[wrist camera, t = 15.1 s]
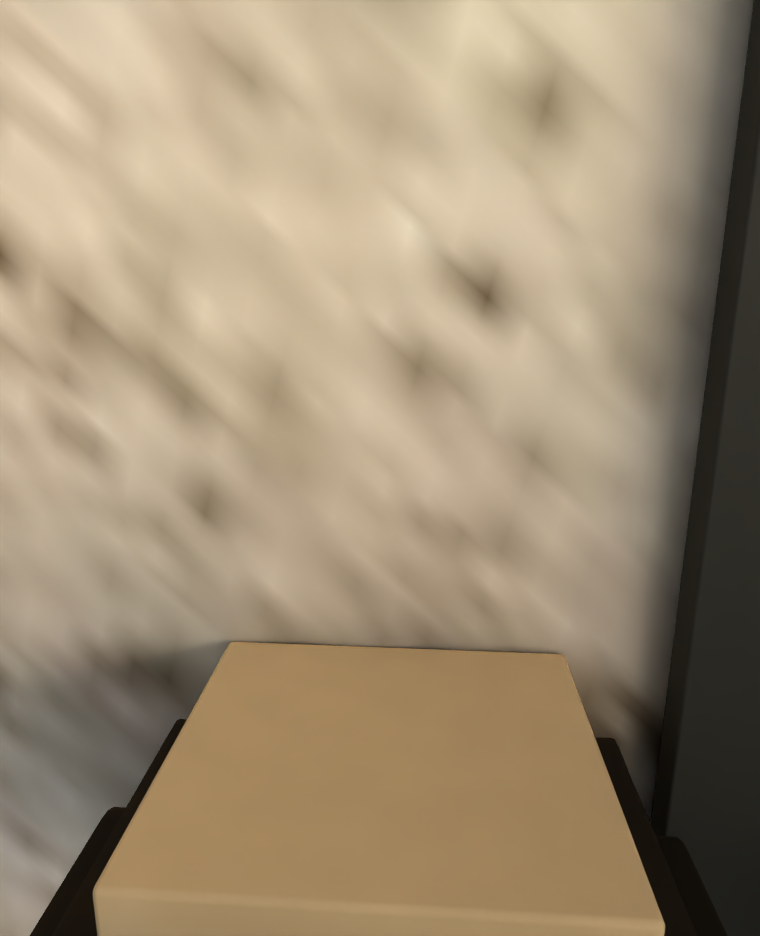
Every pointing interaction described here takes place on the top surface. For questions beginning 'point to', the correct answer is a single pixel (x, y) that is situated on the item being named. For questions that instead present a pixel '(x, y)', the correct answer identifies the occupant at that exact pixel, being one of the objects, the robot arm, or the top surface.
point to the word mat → (723, 577)
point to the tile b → (380, 805)
